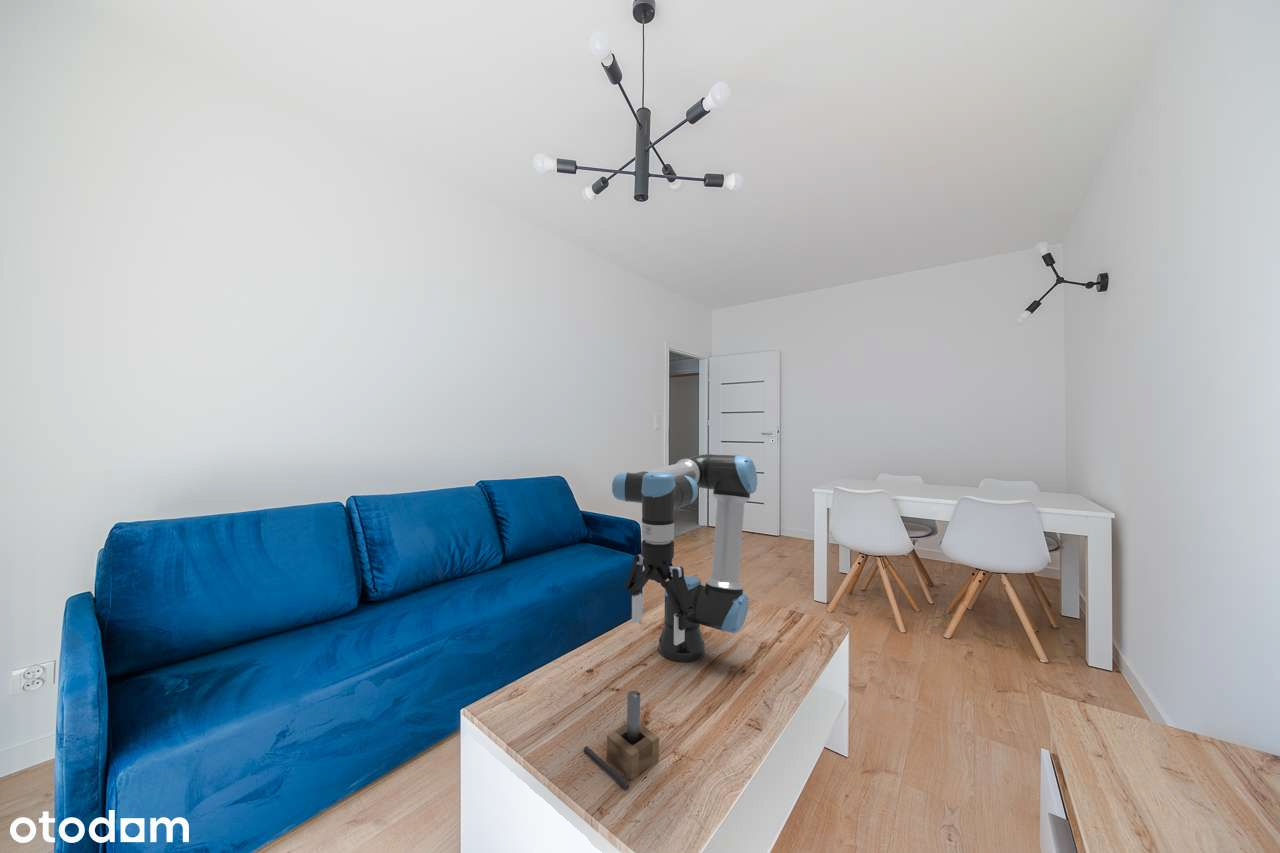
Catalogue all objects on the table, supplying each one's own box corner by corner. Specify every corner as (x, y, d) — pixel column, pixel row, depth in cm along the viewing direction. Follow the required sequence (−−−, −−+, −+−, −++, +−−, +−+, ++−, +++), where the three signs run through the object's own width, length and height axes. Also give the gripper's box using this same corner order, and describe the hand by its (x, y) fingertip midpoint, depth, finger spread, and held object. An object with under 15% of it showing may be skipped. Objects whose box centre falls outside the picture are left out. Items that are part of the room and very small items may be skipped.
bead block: (606, 758, 94) (607, 735, 94) (633, 740, 99) (634, 718, 99) (631, 780, 88) (632, 755, 88) (658, 760, 94) (659, 737, 94)
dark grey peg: (623, 759, 94) (624, 694, 94) (632, 752, 96) (634, 689, 96) (632, 766, 92) (633, 700, 92) (641, 759, 94) (643, 694, 94)
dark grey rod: (583, 751, 96) (583, 747, 96) (586, 749, 96) (586, 745, 96) (626, 790, 86) (626, 786, 86) (628, 787, 86) (629, 783, 86)
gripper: (610, 532, 106) (610, 618, 106) (688, 556, 88) (687, 659, 88) (633, 527, 111) (632, 609, 111) (711, 548, 93) (710, 646, 93)
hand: (657, 631), depth 100 cm, fingers open, 13 cm apart
